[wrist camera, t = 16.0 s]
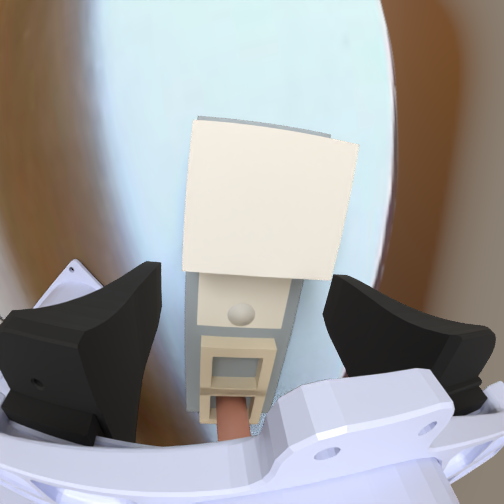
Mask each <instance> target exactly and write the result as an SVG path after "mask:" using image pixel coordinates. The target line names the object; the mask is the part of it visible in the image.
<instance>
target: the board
mask: <svg viewBox="0 0 504 504" xmlns="http://www.w3.org/2000/svg"><path fill="white" fill-rule="evenodd" d="M197 120H206V121H218V122H229V123H238V124H247V125H255V126H262V127H269V128H276V129H283V130H289V131H295V132H301V133H306V134H311V135H317V136H322V137H327V138H331V135H330V134H326V133H321V132H316V131H311V130H305V129H300V128H294V127H288V126H282V125H276V124H269V123H262V122H254V121H246V120H237V119H228V118H217V117H205V116H198V118H197ZM303 281H304V279H292V278H275V277H259V276H243V275H229V274H214V273H201V272H188V271H186V282H185V378H186V405H187V411H192V412H200V423H205V424H217V415H216V396H241V397H245V398H246V405H247V413H248V420H249V424H258V423H259V419H260V416H261V413H268V411H269V410H270V408H271V405H272V402H273V398H274V395H275V391H276V388H277V384H278V381H279V377H280V373H281V370H282V366H283V362H284V359H285V355H286V351H287V347H288V343H289V340H290V336H291V332H292V328H293V324H294V320H295V315H296V311H297V307H298V303H299V299H300V294H301V290H302V286H303Z"/></svg>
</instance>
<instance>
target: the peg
mask: <svg viewBox="0 0 504 504" xmlns="http://www.w3.org/2000/svg"><path fill="white" fill-rule="evenodd" d="M216 415H217V434H218V441H225V440H232V439H238V438H244V437H249V436H251V433H250V426H249V420H248V413H247V405H246V398H245V397H241V396H216Z"/></svg>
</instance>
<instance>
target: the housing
mask: <svg viewBox="0 0 504 504" xmlns="http://www.w3.org/2000/svg"><path fill="white" fill-rule="evenodd" d="M358 150H359V145H358V144H354V143H349V142H345V141H341V140H336V139H331V138H327V137H322V136H317V135H311V134H306V133H301V132H295V131H289V130H283V129H276V128H269V127H262V126H255V125H247V124H238V123H229V122H218V121H206V120H193V125H192V134H191V143H190V153H189V163H188V175H187V187H186V201H185V217H184V235H183V259H182V271H188V272H201V273H214V274H229V275H243V276H259V277H275V278H292V279H311V280H331V277H332V273H333V270H334V266H335V262H336V258H337V253H338V249H339V245H340V241H341V236H342V232H343V228H344V223H345V218H346V214H347V209H348V204H349V199H350V194H351V189H352V184H353V178H354V173H355V167H356V162H357V156H358Z"/></svg>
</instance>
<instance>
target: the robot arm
mask: <svg viewBox="0 0 504 504" xmlns="http://www.w3.org/2000/svg"><path fill="white" fill-rule="evenodd" d="M71 267H72V268H73V269H74V271H73V270H72V269H71ZM161 308H162V296H161V262H149V261H146V262H144V263H142V264H141V265H139V266H137V267H136V268H134V269H133V270H131V271H130V272H128V273H127V274H125V275H123V276H122V277H120V278H119V279H117V280H115V281H113V282H112V283H110V284H108V285H106V286H104V287H103V286H102V285H101V284H100V283H99V282H98V281H97V279H96V278H95V277H94V276H93V275H92V274H91V273H90V272H89V271H88V270H87V269H86V268H85V267H84V266H83V265H82V264H81V262H80V261H78V260H76V259H74V260H72V261H71V262H70V264H69V265H68V266H67V267H66V268H65V269H64V271H63V272H62V273H61V274H60V275H59V276H58V278H57V279H56V280H55V281H54V282H53V284H52V285H51V286H50V287H49V289H48V290H47V291H46V292H45V294H44V295H43V296H42V297H41V299H40V300H39V301H38V302H37V304H36V305H35V306H34V308H33V309H24V310H12V311H11V312H10V313H9V315H8V316H7V317H6V318H5V319H4V321H3V322H2V323H1V324H0V504H460V503H459V501H458V499H457V497H456V495H455V493H454V491H453V489H452V487H451V485H450V484H452V483H453V482H455V481H457V480H458V479H460V478H461V477H463V476H464V475H466V474H467V473H469V472H471V471H472V470H473V469H475V468H477V467H478V466H480V465H481V464H482V463H484V462H485V461H487V460H488V459H490V458H491V457H493V456H494V455H495V454H496V453H497V452H498V451H499V450H500V449H501V448H502V447H503V446H504V384H503V382H502V381H498V382H496V383H494V384H492V385H490V386H488V387H486V388H485V389H484V390H483V391H482V390H481V388H480V387H479V385H481V383H482V380H481V379H480V378H479V377H478V375H479V374H480V372H481V371H482V369H483V368H484V366H485V364H486V363H487V361H488V359H489V358H490V356H491V354H492V352H493V349H494V347H495V341H496V337H495V334H494V333H493V332H492V331H491V330H490V329H489V328H488V327H485V326H481V325H473V324H465V323H459V322H455V321H450V320H445V319H442V318H438V317H435V316H432V315H429V314H426V313H423V312H421V311H418V310H416V309H413V308H411V307H408V306H406V305H404V304H402V303H400V302H397V301H396V300H394V299H391V298H389V297H388V296H386V295H384V294H382V293H381V292H379V291H377V290H375V289H373V288H372V287H370V286H368V285H366V284H364V283H363V282H361V281H359V280H357V279H355V278H353V277H350V276H347V275H336V274H333V278H332V282H331V286H330V289H329V293H328V297H327V300H326V304H325V307H324V311H323V317H324V321H325V325H326V328H327V331H328V333H329V336H330V338H331V340H332V342H333V344H334V346H335V348H336V350H337V353H338V355H339V357H340V359H341V361H342V363H343V365H344V367H345V369H346V372H347V374H348V376H349V377H348V378H337V379H325V380H321V381H317V382H312V383H308V384H304V385H300V386H299V387H297V388H295V389H294V390H292V391H290V392H288V393H286V394H285V395H283V396H281V397H280V398H278V399H277V401H276V402H275V403H274V405H273V406H272V407H271V409H270V410H269V411H268V413H267V414H266V417H265V421H264V424H263V427H262V430H261V432H260V434H259V435H255V436H249V437H244V438H238V439H232V440H225V441H218V442H211V443H203V444H193V445H182V446H168V447H159V446H151V445H143V444H137V443H135V439H136V426H137V416H138V407H139V399H140V392H141V386H142V379H143V374H144V370H145V366H146V363H147V359H148V356H149V353H150V350H151V347H152V344H153V340H154V337H155V334H156V331H157V328H158V324H159V319H160V313H161Z"/></svg>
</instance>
